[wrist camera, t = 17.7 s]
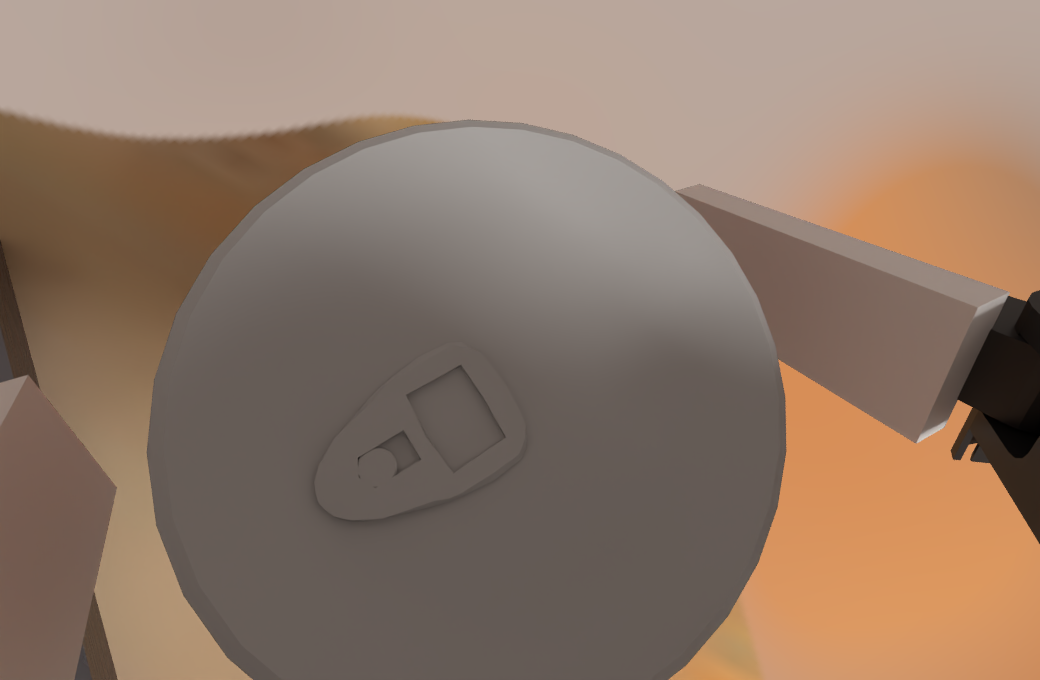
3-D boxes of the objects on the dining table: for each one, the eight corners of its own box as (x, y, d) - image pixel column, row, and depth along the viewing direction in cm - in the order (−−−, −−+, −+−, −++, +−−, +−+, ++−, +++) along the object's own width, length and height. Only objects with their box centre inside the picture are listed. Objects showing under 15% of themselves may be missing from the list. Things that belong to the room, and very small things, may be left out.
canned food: (244, 459, 15) (-54, 417, 5) (435, 281, 18) (498, 13, 8) (437, 639, 15) (539, 969, 5) (599, 433, 18) (881, 370, 8)
